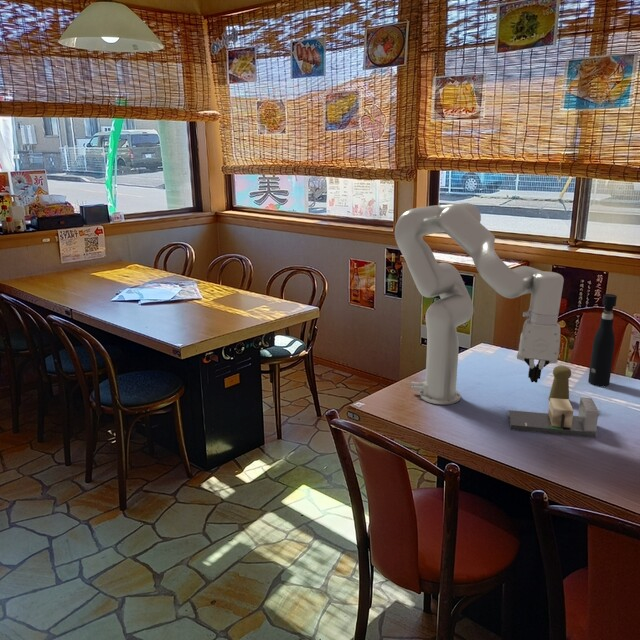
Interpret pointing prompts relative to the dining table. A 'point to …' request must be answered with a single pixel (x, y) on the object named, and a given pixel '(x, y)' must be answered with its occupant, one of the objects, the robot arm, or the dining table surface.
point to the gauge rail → (542, 424)
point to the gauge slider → (560, 412)
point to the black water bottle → (603, 345)
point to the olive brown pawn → (560, 383)
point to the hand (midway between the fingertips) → (533, 380)
